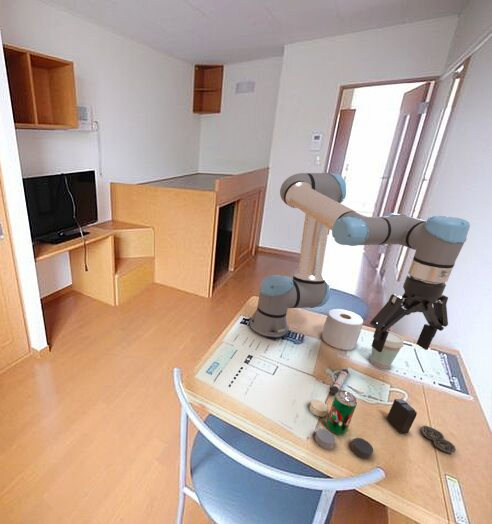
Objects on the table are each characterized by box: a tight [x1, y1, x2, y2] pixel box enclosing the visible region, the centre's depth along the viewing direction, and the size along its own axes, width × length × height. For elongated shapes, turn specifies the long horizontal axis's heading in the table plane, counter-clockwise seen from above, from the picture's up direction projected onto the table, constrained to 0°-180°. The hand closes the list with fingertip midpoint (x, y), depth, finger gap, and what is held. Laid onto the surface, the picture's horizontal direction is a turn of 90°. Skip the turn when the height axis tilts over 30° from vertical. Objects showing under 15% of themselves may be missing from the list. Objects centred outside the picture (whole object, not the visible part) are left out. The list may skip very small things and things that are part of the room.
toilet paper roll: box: [321, 308, 364, 351], centre depth 121 cm, size 12×12×12 cm
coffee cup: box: [369, 330, 404, 370], centre depth 109 cm, size 8×8×12 cm
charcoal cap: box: [350, 437, 374, 460], centre depth 79 cm, size 4×4×2 cm
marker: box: [330, 368, 349, 396], centre depth 101 cm, size 15×2×2 cm, turn 134°
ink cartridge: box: [386, 398, 418, 434], centre depth 85 cm, size 5×2×8 cm, turn 2°
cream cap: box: [309, 399, 329, 418], centre depth 91 cm, size 4×4×2 cm
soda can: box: [325, 389, 358, 436], centre depth 84 cm, size 5×5×12 cm
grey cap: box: [314, 428, 336, 450], centre depth 82 cm, size 4×4×2 cm
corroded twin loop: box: [421, 425, 456, 454], centre depth 82 cm, size 5×8×1 cm, turn 3°
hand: (399, 347), depth 84 cm, fingers open, 13 cm apart
